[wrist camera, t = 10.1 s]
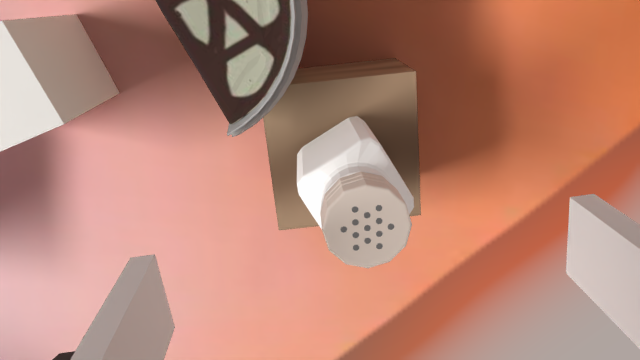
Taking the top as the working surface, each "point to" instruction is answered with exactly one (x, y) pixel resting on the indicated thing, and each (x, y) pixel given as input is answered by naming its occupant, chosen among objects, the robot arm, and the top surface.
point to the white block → (47, 76)
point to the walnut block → (331, 109)
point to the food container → (242, 50)
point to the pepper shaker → (355, 194)
